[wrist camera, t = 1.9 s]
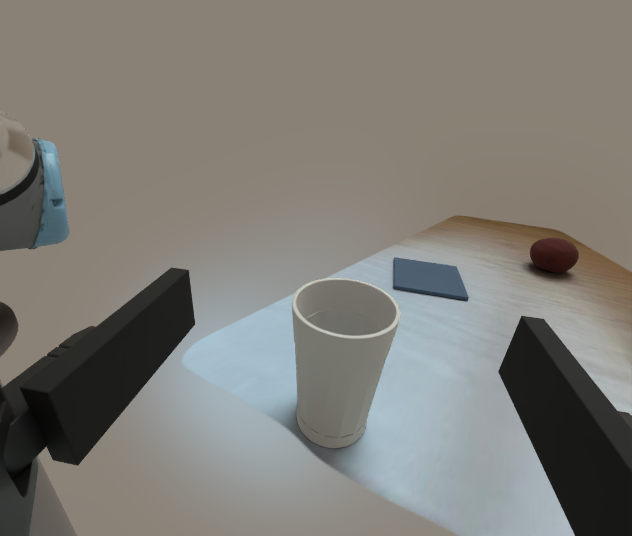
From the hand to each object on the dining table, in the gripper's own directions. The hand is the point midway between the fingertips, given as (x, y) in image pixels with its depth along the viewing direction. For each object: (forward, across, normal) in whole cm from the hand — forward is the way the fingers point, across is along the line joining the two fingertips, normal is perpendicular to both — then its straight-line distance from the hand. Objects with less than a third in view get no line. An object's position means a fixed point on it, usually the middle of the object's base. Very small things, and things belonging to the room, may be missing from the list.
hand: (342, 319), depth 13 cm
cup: (+10, 0, -18) cm, 20 cm away
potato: (+51, +36, -18) cm, 65 cm away
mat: (+40, +12, -17) cm, 45 cm away
